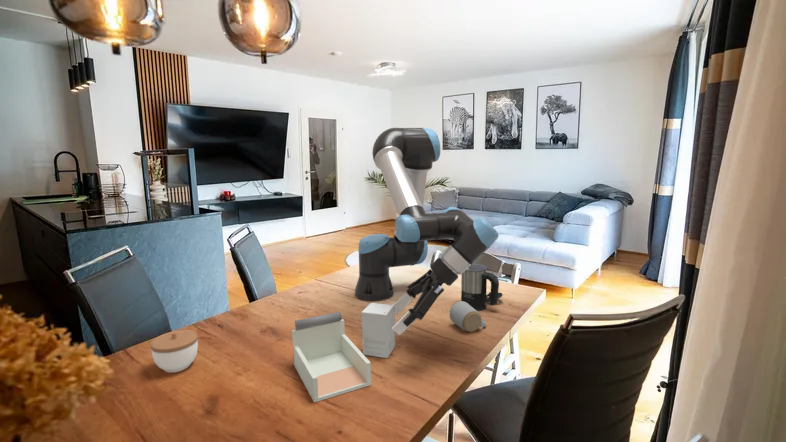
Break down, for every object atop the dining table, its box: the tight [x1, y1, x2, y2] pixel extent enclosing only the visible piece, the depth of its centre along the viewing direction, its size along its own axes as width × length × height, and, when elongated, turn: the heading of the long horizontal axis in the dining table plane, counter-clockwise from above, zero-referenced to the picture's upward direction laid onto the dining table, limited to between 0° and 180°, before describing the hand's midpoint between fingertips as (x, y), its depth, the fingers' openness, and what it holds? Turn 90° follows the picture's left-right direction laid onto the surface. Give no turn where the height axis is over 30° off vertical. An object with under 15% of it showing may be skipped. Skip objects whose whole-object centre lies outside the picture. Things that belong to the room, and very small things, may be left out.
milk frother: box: [460, 263, 503, 312], centre depth 142 cm, size 14×16×15 cm
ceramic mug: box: [449, 300, 487, 333], centre depth 124 cm, size 11×8×8 cm
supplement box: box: [361, 302, 396, 359], centre depth 109 cm, size 7×7×13 cm
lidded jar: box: [149, 329, 199, 374], centre depth 101 cm, size 11×11×9 cm
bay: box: [291, 311, 372, 403], centre depth 97 cm, size 19×14×12 cm
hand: (394, 320), depth 107 cm, fingers open, 13 cm apart
